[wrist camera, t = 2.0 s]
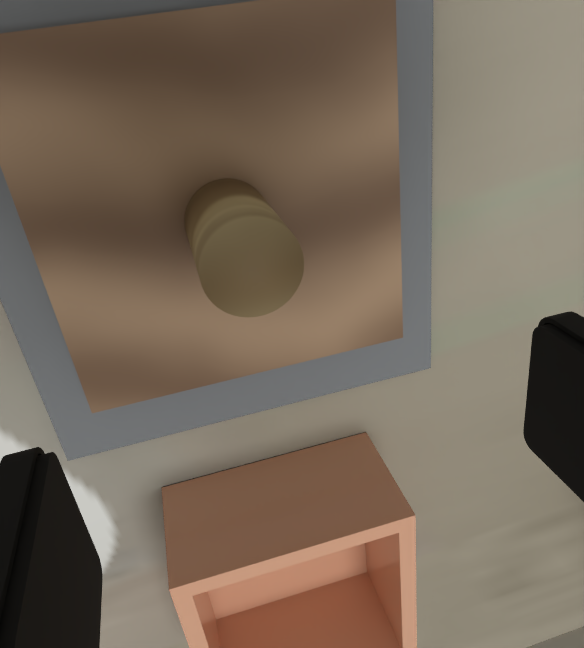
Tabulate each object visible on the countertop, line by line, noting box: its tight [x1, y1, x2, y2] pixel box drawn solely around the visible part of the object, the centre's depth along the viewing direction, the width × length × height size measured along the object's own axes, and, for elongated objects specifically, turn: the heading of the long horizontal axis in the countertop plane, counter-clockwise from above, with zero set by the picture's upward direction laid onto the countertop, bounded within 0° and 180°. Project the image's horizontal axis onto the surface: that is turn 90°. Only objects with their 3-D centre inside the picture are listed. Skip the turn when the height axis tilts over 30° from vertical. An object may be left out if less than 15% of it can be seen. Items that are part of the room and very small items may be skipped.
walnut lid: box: [0, 0, 403, 413], centre depth 19 cm, size 14×14×6 cm
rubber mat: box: [0, 0, 433, 461], centre depth 22 cm, size 20×18×1 cm
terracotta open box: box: [162, 432, 417, 648], centre depth 29 cm, size 11×11×6 cm
